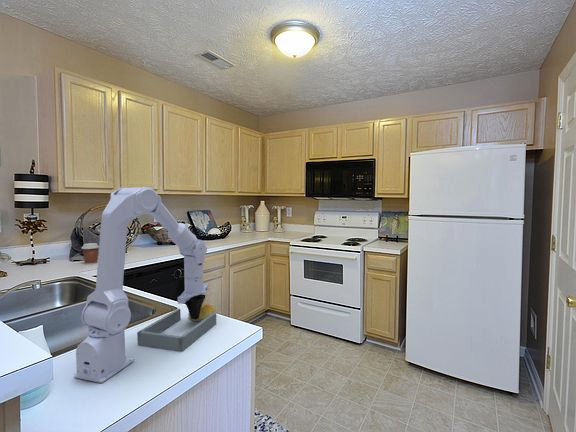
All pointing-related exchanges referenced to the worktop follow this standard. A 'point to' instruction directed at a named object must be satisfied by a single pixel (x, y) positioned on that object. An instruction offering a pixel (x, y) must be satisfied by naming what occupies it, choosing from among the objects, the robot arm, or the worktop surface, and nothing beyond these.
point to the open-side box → (179, 343)
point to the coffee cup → (90, 253)
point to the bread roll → (204, 312)
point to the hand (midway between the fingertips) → (194, 318)
